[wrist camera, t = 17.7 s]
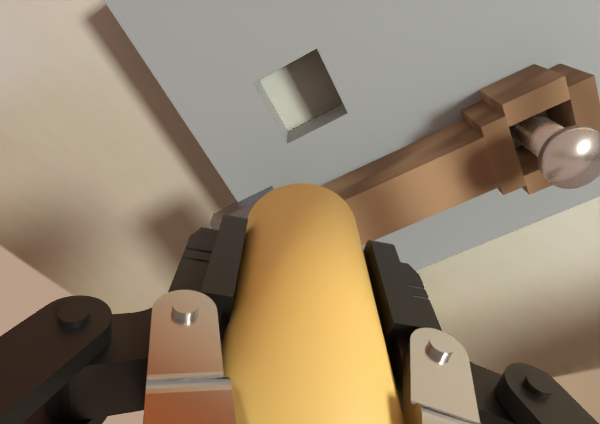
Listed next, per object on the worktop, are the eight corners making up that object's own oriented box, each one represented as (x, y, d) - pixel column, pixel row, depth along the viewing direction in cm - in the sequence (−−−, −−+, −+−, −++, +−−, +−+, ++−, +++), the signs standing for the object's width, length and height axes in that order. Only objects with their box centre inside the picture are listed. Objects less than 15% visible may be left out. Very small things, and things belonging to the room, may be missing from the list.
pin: (374, 253, 15) (467, 582, 7) (279, 293, 15) (262, 633, 8) (326, 163, 13) (374, 454, 5) (223, 213, 14) (128, 532, 6)
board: (626, 162, 32) (650, 175, 30) (310, 293, 38) (311, 312, 36) (544, -282, 21) (572, -311, 19) (117, -5, 27) (101, -3, 25)
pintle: (531, 119, 31) (615, 172, 23) (487, 140, 32) (552, 198, 23) (520, 78, 30) (604, 118, 21) (473, 100, 30) (538, 148, 22)
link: (557, 52, 26) (592, 63, 23) (578, 140, 29) (611, 160, 26) (257, 195, 31) (253, 220, 28) (298, 261, 33) (298, 290, 30)
